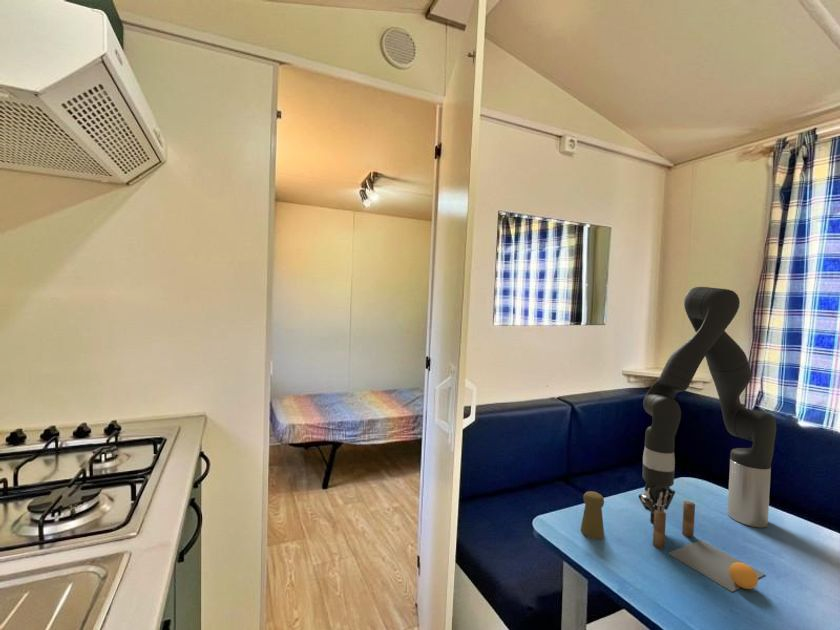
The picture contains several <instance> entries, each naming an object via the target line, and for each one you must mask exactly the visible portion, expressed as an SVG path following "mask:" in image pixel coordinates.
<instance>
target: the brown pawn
mask: <svg viewBox="0 0 840 630" xmlns="http://www.w3.org/2000/svg"><path fill="white" fill-rule="evenodd" d="M583 503H584V504H585V505H584V510H583V515H582V520H581V525H580V532H581V534H583V535H584V536H585V537H587V538H589V539H592V540H593V539H594V540H602V539H603V538H604V537H605V529H604V519H603V508H604V505H605V500H604V497H603V495H602V494H600V493H598V492H597V491H591V490H590V491H589V490H588V491H585V493H584V494H583Z"/></svg>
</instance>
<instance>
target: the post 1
mask: <svg viewBox="0 0 840 630" xmlns="http://www.w3.org/2000/svg"><path fill="white" fill-rule="evenodd" d="M666 518H667V514H666V512H665V511H664V512H663V511H661V510H654V525H653V532H652V533H653V534H652V545H653V547H654V548H657V549H659V550H663V549H665V542H666V523H667V522H666V521H667V519H666Z"/></svg>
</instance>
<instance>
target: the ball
mask: <svg viewBox="0 0 840 630" xmlns="http://www.w3.org/2000/svg"><path fill="white" fill-rule="evenodd" d="M744 563H745V562H743V563H740V562H737V563H733V564H732V565H731V566H730V568H729V574H730V577H731V578H732V580H733V581H734V582H735V583H736V584H737V585H738V586H740V587H741V588H742V589H746V590H752V589H754V588H755V587H757V585H758V583H759V578H758V577H757V575H756V573H755V571H754V570H753V569H752V568H751V567H752V566H751V567H749V566H750V565H749V564H747V563H745V564H744ZM746 564H747V565H746ZM748 565H749V566H748Z"/></svg>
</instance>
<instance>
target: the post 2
mask: <svg viewBox="0 0 840 630" xmlns="http://www.w3.org/2000/svg"><path fill="white" fill-rule="evenodd" d="M682 505H683V507H682V509H683V510H682V526H681V527H682V528H681V534H682V535H683V536H684V537H687V538H689V539H693V538H694V535H695V534H694V532H695V517H696V516H695V514H696V513H695V512H696V511H695V510H696V504H695V503H694V502H692V501H690V500H683V504H682Z"/></svg>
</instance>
